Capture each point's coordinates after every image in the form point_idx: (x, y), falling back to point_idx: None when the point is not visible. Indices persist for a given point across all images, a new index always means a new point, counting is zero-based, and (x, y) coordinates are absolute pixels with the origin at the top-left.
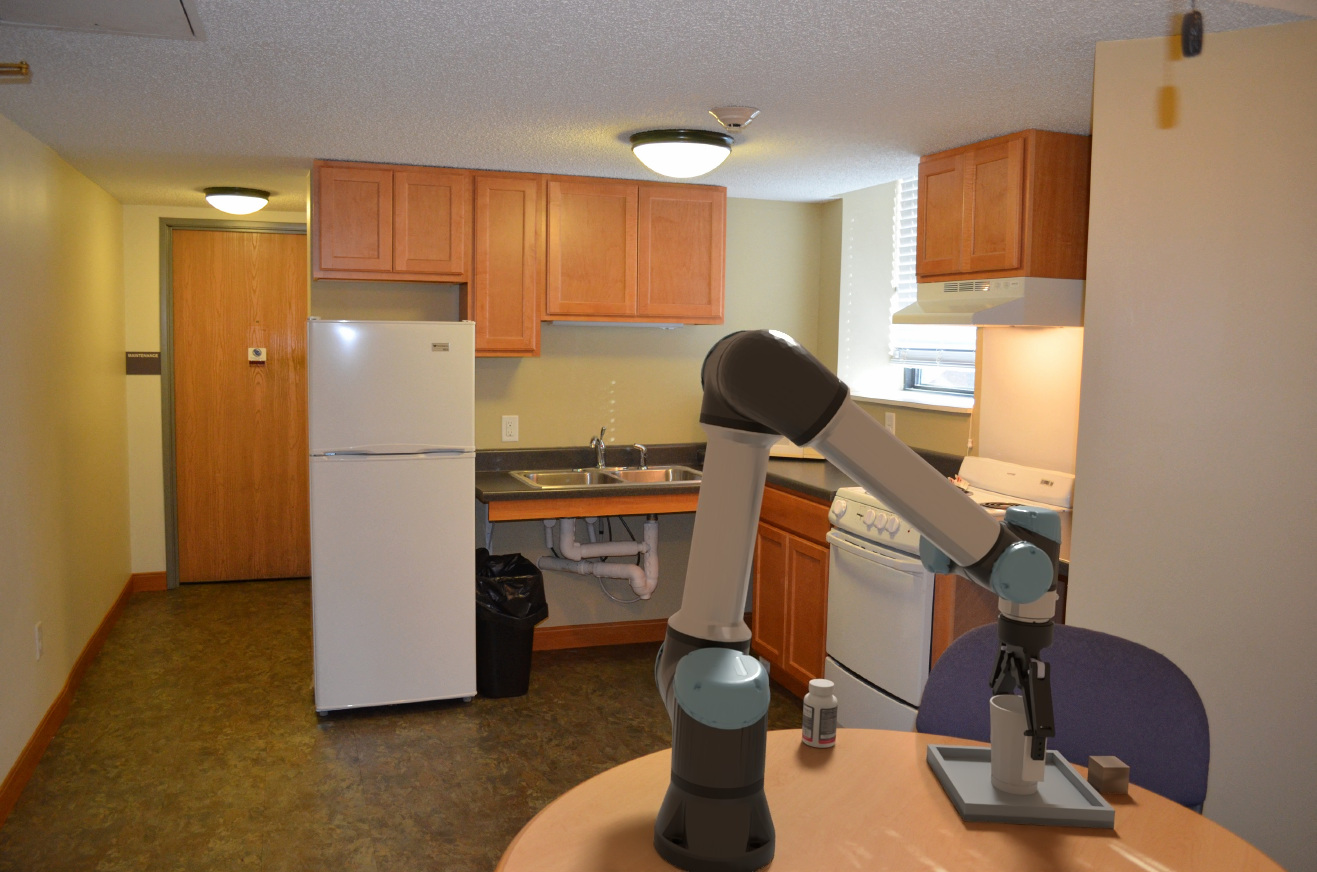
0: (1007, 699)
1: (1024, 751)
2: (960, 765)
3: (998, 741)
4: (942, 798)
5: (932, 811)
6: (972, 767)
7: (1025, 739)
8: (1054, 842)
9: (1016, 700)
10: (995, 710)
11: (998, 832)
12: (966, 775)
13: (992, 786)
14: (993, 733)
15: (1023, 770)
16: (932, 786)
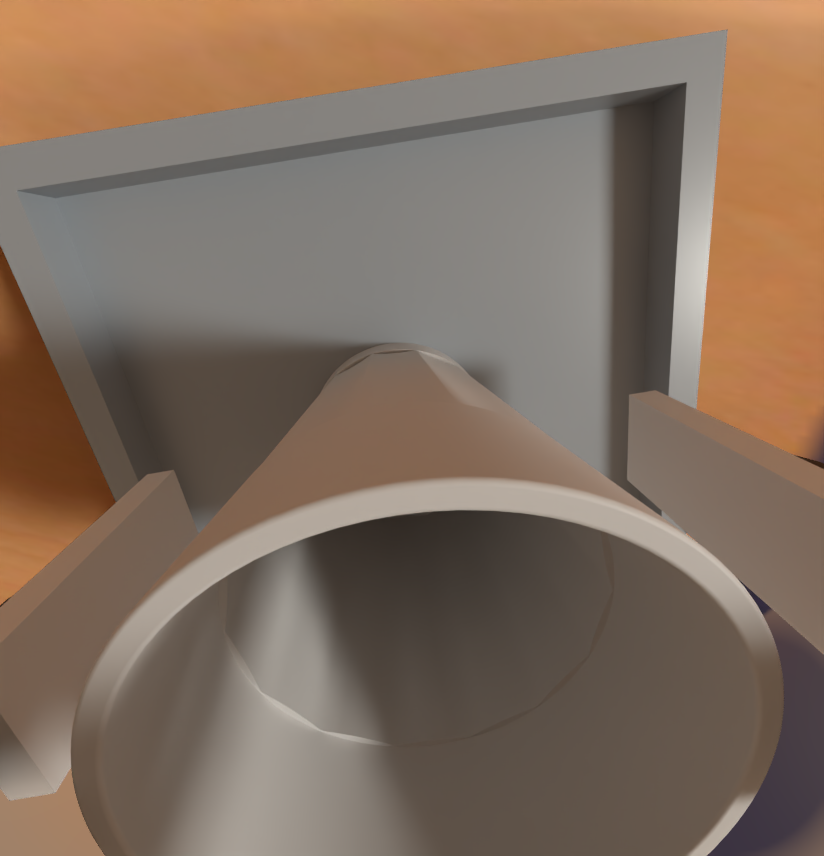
0: (716, 664)
1: (77, 559)
2: (558, 228)
3: (314, 416)
4: (233, 95)
5: (59, 13)
6: (543, 284)
7: (3, 626)
8: (33, 487)
9: (698, 731)
10: (259, 497)
11: (2, 308)
12: (450, 242)
13: (363, 343)
14: (355, 398)
15: (135, 494)
16: (355, 58)
